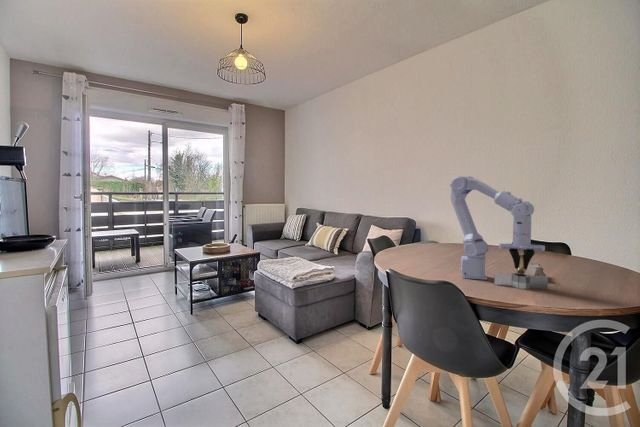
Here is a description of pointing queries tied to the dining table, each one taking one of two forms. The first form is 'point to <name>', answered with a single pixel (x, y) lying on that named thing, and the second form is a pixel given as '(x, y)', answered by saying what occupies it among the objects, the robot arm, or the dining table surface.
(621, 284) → the dining table surface
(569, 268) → the dining table surface
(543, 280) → the hinge
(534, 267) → the mineral specimen
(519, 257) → the hinge pin
